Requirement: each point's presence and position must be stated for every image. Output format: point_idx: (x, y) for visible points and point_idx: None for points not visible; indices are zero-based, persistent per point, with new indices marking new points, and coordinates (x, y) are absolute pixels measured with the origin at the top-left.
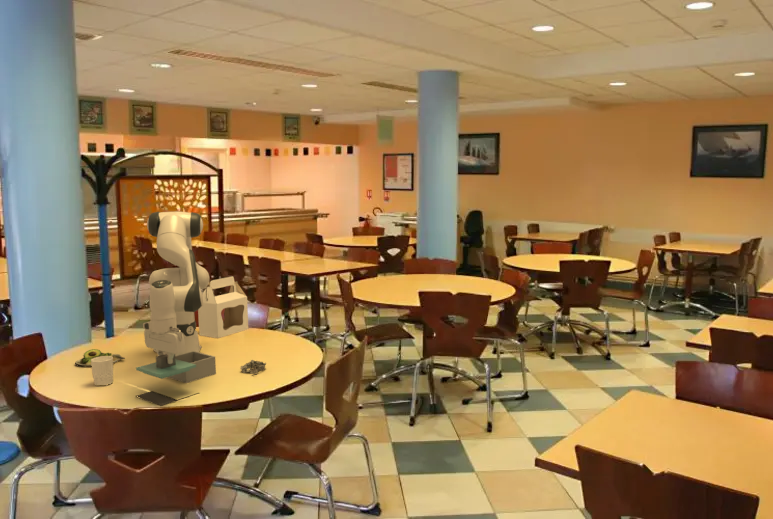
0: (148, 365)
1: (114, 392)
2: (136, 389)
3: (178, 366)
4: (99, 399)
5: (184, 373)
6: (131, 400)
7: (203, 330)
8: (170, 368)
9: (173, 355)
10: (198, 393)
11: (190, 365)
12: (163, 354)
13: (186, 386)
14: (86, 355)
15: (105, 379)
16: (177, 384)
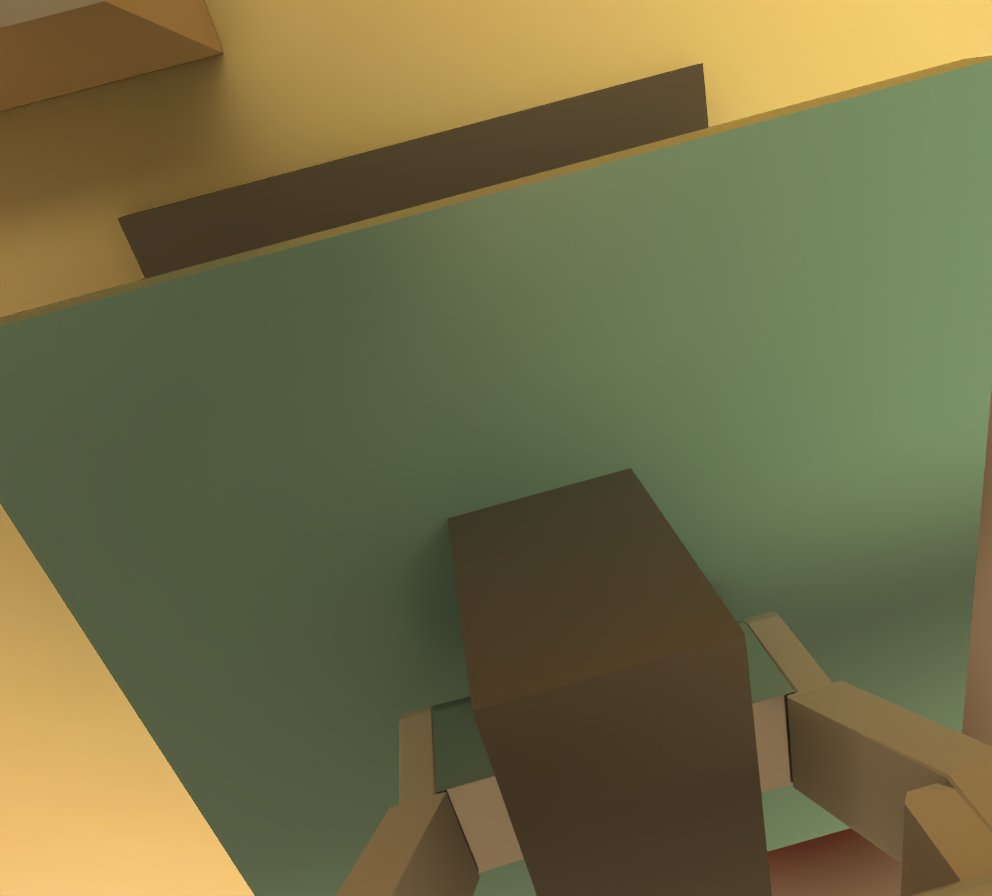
0: (310, 848)
1: (62, 775)
2: (67, 612)
3: (802, 462)
4: (209, 871)
5: (125, 42)
6: None
7: None
8: (793, 614)
9: (964, 749)
10: (700, 79)
11: (962, 213)
12: (425, 842)
13: (288, 82)
14: None
15: None
16: (114, 156)
